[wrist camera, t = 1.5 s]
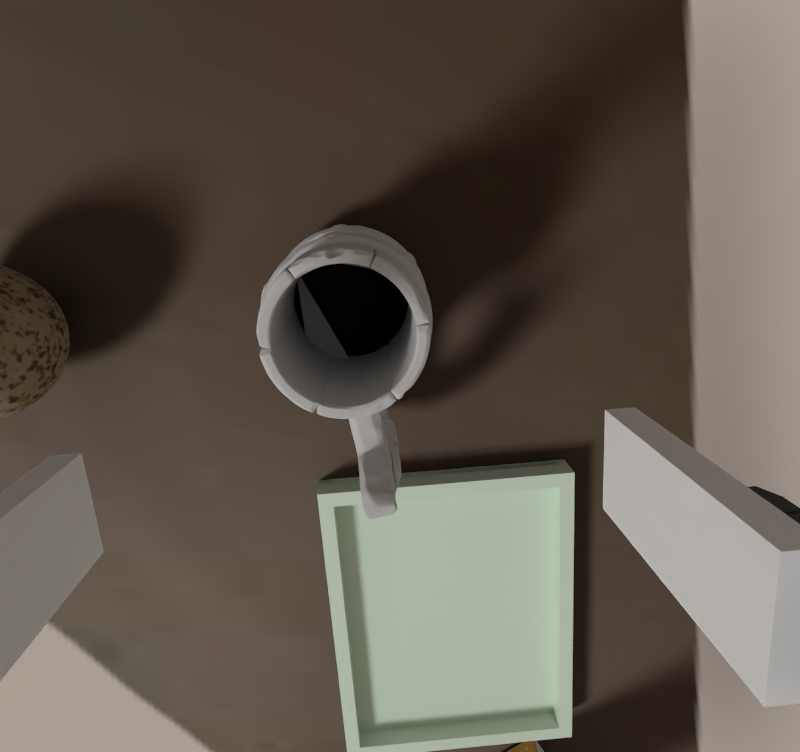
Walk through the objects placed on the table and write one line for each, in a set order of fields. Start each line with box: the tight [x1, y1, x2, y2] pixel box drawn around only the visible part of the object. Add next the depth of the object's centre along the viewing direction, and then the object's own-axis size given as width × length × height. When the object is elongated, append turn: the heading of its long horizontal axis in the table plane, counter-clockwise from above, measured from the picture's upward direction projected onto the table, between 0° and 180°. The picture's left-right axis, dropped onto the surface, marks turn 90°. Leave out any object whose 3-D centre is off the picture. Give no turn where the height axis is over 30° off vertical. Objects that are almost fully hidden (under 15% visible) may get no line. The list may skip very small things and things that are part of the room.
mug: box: [257, 224, 433, 519], centre depth 26 cm, size 8×12×12 cm, turn 12°
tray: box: [317, 459, 575, 752], centre depth 35 cm, size 18×14×2 cm
